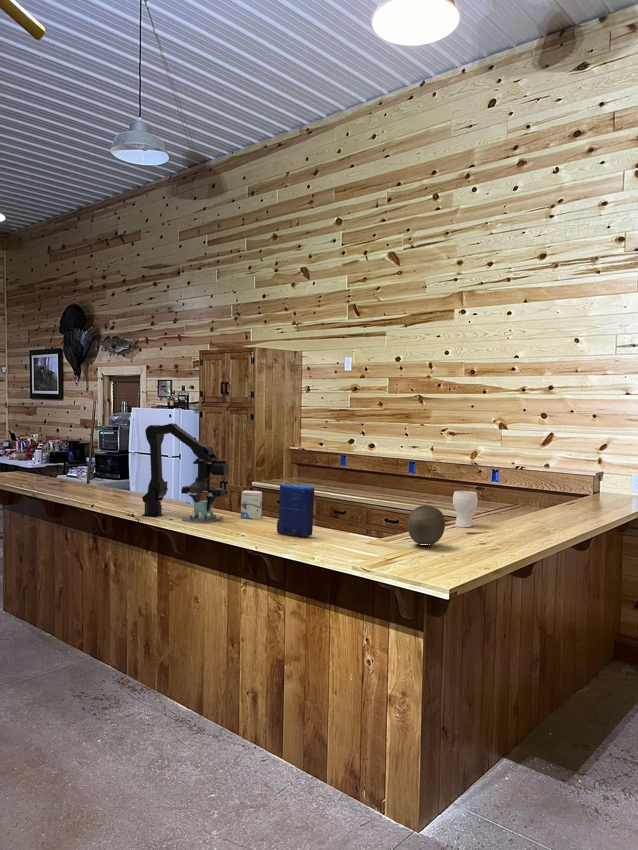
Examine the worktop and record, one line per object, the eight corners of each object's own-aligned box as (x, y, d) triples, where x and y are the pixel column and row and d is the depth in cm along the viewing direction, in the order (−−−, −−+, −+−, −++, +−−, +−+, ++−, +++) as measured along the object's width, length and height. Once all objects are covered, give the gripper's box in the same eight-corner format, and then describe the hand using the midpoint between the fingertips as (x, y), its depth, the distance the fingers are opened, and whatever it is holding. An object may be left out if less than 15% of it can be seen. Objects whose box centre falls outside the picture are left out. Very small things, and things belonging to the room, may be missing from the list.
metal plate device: (182, 520, 271) (182, 510, 271) (198, 516, 284) (198, 506, 284) (207, 523, 267) (207, 513, 267) (222, 518, 280) (223, 508, 280)
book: (274, 534, 249) (276, 483, 249) (282, 532, 254) (283, 481, 253) (307, 539, 242) (309, 486, 242) (313, 536, 247) (315, 485, 247)
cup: (446, 525, 282) (448, 491, 282) (461, 523, 289) (462, 490, 289) (467, 529, 274) (468, 494, 274) (481, 527, 281) (482, 492, 281)
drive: (193, 514, 273) (194, 502, 273) (202, 511, 280) (203, 500, 280) (203, 515, 271) (203, 503, 271) (212, 512, 279) (212, 500, 279)
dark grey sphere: (399, 543, 240) (400, 503, 240) (432, 541, 245) (433, 502, 245) (418, 551, 227) (419, 509, 227) (452, 549, 232) (454, 508, 232)
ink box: (240, 518, 282) (241, 491, 282) (242, 516, 287) (243, 490, 287) (259, 519, 282) (260, 492, 281) (261, 517, 287) (262, 491, 286)
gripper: (175, 475, 271) (173, 511, 271) (214, 478, 265) (213, 515, 265) (188, 472, 281) (187, 508, 282) (227, 475, 275) (225, 511, 276)
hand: (202, 511), depth 276 cm, fingers closed on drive, 4 cm apart
